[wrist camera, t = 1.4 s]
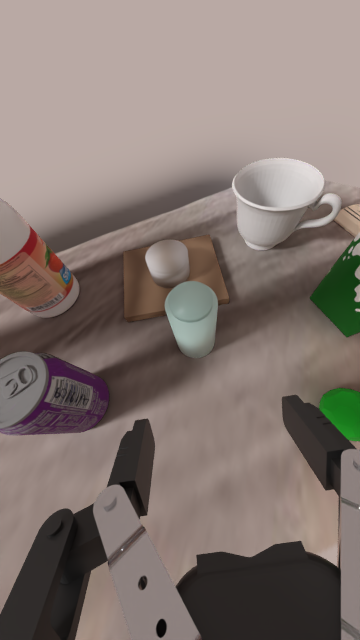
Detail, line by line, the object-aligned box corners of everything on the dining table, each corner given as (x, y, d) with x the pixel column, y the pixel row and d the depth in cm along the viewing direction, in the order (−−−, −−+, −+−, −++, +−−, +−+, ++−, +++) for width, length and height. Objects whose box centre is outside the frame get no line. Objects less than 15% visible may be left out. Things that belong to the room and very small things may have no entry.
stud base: (127, 322, 32) (113, 303, 28) (126, 257, 39) (114, 233, 34) (228, 303, 32) (232, 281, 27) (209, 241, 38) (209, 214, 34)
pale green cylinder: (180, 361, 28) (166, 328, 19) (175, 326, 31) (160, 282, 22) (218, 354, 28) (224, 317, 19) (210, 320, 31) (211, 272, 21)
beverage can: (93, 365, 30) (30, 331, 19) (122, 402, 27) (66, 386, 16) (51, 402, 28) (-44, 387, 17) (77, 446, 25) (-18, 460, 15)
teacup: (297, 282, 32) (331, 227, 23) (214, 249, 37) (216, 194, 29) (324, 234, 36) (363, 171, 27) (246, 210, 41) (256, 151, 32)
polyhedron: (370, 434, 22) (408, 436, 18) (325, 444, 22) (353, 448, 18) (344, 387, 25) (372, 379, 20) (303, 396, 25) (323, 390, 20)
